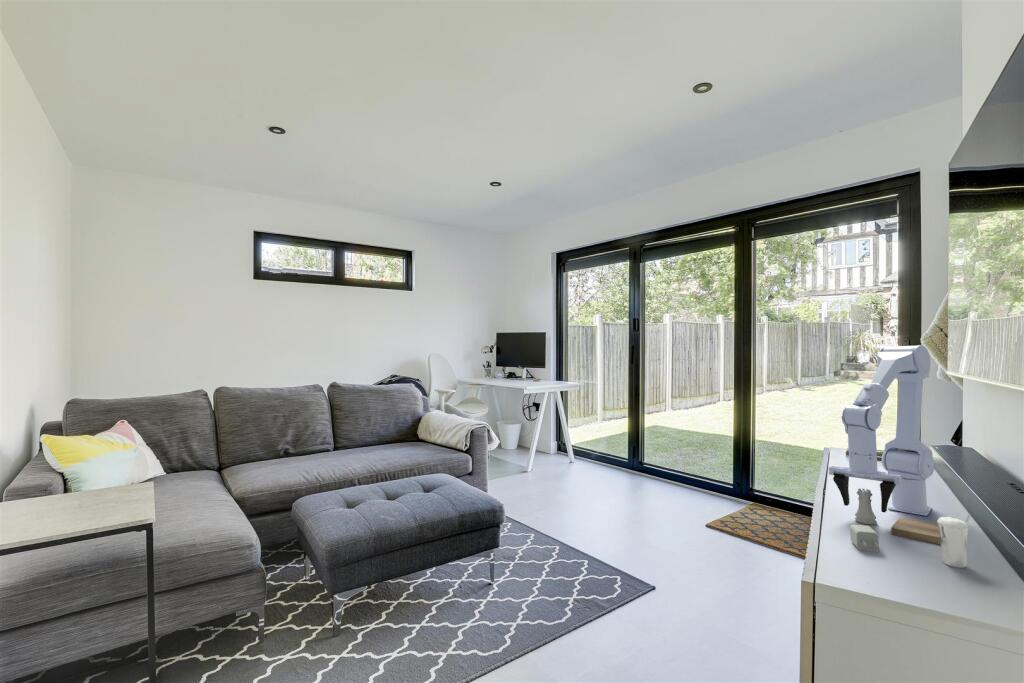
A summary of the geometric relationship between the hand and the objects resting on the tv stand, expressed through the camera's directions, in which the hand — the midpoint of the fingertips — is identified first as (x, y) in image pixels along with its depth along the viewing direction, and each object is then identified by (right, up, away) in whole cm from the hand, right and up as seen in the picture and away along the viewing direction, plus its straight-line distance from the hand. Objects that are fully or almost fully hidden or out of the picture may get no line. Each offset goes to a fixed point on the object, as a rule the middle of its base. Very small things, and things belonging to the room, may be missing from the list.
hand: (865, 507), depth 119 cm
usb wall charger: (-12, -3, -17) cm, 21 cm away
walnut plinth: (+7, -3, -9) cm, 12 cm away
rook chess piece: (0, -4, 0) cm, 4 cm away
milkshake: (0, -3, -25) cm, 25 cm away
